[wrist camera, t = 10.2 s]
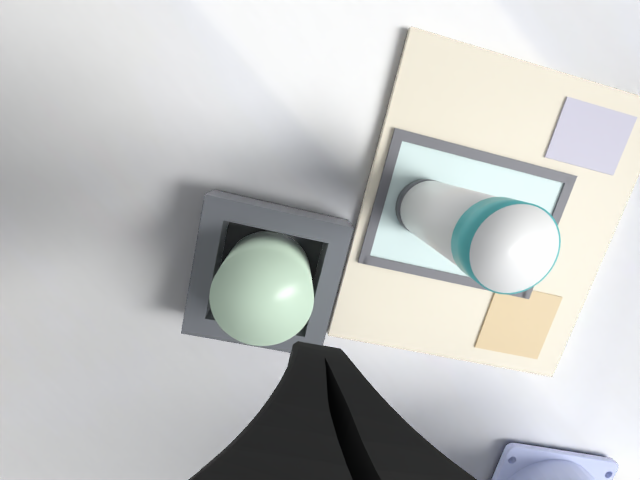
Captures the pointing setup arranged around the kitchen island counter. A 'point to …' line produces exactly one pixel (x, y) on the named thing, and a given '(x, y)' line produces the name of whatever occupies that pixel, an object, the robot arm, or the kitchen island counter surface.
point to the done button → (263, 290)
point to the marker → (482, 233)
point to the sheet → (494, 179)
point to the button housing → (273, 218)
